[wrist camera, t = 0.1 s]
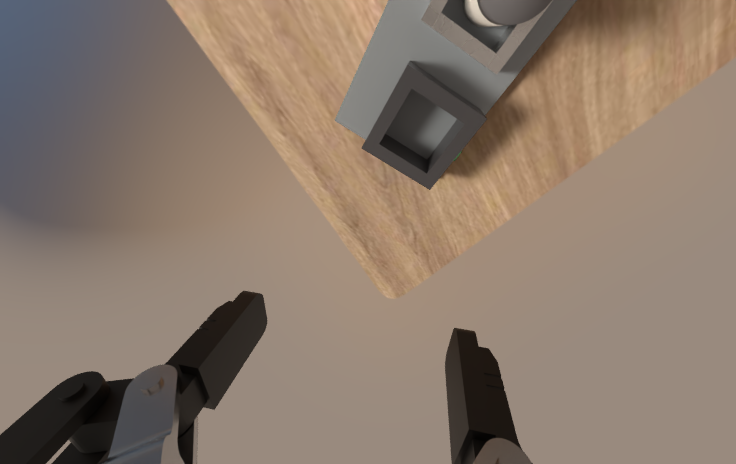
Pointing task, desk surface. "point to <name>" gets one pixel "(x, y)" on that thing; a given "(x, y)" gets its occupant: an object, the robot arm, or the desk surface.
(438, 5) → the square frame
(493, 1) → the plug
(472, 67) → the panel
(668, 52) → the desk surface
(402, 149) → the port
